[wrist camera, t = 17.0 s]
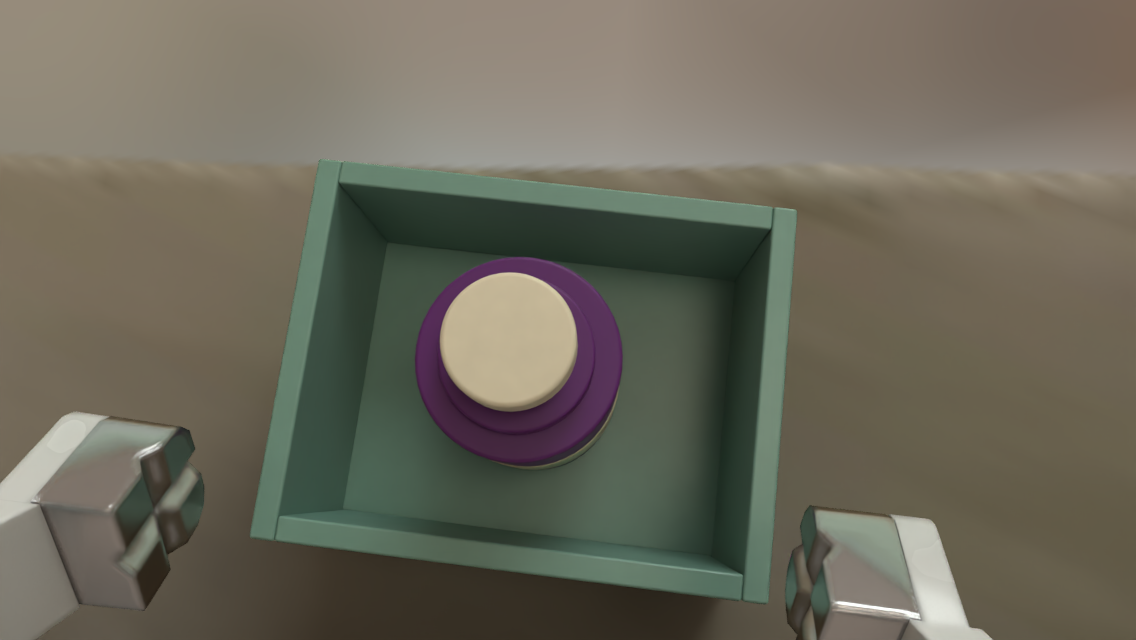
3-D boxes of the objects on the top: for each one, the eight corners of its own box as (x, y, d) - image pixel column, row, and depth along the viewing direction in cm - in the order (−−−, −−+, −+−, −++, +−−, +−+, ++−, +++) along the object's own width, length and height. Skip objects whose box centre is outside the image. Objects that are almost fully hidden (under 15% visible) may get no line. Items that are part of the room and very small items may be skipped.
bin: (752, 270, 23) (798, 208, 18) (726, 577, 21) (768, 605, 16) (377, 229, 23) (318, 157, 18) (327, 526, 22) (248, 538, 17)
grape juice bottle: (623, 325, 22) (642, 235, 14) (606, 479, 21) (614, 475, 13) (472, 308, 22) (406, 209, 14) (450, 460, 21) (368, 445, 13)
